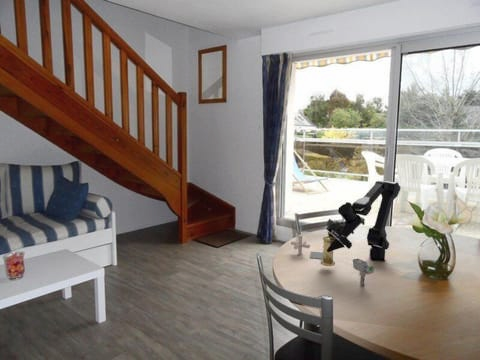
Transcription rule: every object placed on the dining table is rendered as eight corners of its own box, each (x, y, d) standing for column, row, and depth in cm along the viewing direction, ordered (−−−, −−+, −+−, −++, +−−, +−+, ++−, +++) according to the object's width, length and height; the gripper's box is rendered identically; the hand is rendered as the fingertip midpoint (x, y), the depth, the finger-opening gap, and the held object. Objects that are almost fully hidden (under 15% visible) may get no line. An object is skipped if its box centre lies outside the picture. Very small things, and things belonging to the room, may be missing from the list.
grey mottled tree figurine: (368, 291, 146) (370, 267, 144) (350, 281, 155) (351, 258, 153) (374, 289, 147) (375, 265, 146) (355, 280, 156) (356, 257, 155)
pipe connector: (304, 259, 180) (304, 239, 179) (286, 254, 186) (287, 235, 185) (313, 253, 188) (313, 234, 187) (296, 249, 194) (296, 231, 193)
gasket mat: (327, 253, 188) (327, 252, 188) (327, 259, 180) (327, 259, 180) (310, 252, 190) (310, 251, 190) (309, 258, 182) (309, 257, 182)
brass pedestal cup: (334, 261, 170) (335, 236, 168) (335, 266, 163) (336, 240, 162) (320, 260, 171) (321, 235, 169) (320, 265, 165) (321, 239, 163)
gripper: (330, 208, 173) (307, 232, 174) (346, 218, 155) (320, 244, 155) (346, 224, 175) (323, 247, 176) (363, 236, 157) (337, 261, 157)
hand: (325, 249), depth 166 cm, fingers closed on brass pedestal cup, 4 cm apart
